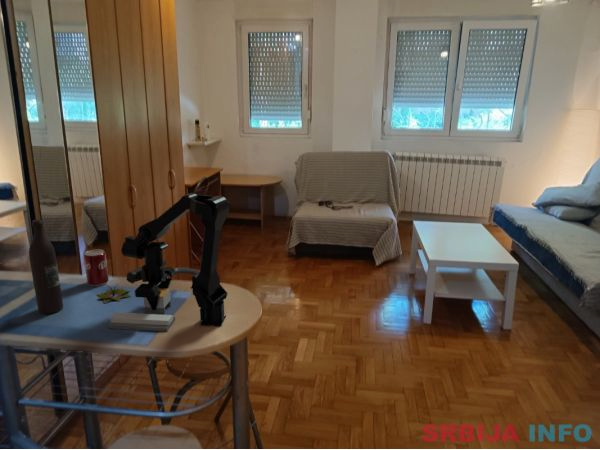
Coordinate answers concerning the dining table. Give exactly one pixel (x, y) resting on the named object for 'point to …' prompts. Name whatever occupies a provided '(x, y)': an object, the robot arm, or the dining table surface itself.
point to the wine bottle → (44, 271)
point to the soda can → (96, 267)
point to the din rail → (140, 326)
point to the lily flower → (113, 292)
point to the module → (159, 302)
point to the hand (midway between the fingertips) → (158, 305)
